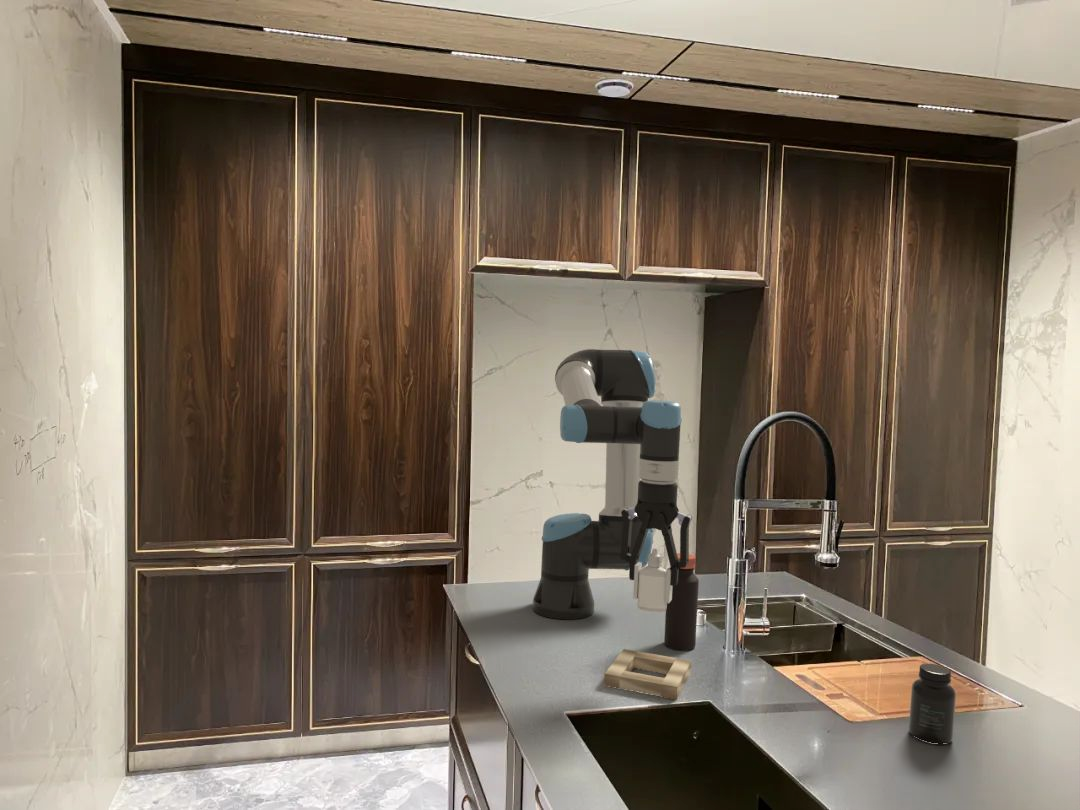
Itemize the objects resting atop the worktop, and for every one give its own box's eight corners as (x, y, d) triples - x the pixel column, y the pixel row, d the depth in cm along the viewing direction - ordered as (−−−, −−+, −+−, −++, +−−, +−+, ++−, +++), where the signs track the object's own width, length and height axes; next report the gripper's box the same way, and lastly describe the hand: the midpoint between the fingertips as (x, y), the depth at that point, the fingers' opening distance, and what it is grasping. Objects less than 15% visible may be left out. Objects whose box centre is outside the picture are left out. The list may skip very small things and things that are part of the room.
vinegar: (693, 641, 181) (698, 553, 180) (696, 652, 174) (701, 561, 173) (663, 638, 182) (667, 551, 180) (664, 650, 175) (669, 559, 174)
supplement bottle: (914, 723, 144) (919, 657, 143) (956, 736, 140) (961, 668, 139) (903, 736, 139) (908, 668, 138) (946, 750, 135) (952, 680, 134)
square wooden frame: (623, 660, 168) (623, 648, 168) (690, 672, 163) (691, 660, 163) (604, 686, 155) (604, 673, 155) (676, 700, 150) (677, 687, 150)
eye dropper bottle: (658, 615, 154) (661, 553, 154) (633, 608, 158) (636, 547, 157) (670, 609, 158) (673, 549, 157) (646, 603, 161) (648, 544, 161)
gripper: (606, 479, 156) (601, 597, 158) (703, 488, 149) (696, 611, 151) (616, 474, 163) (611, 587, 165) (709, 482, 156) (703, 600, 158)
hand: (652, 598), depth 158 cm, fingers closed on eye dropper bottle, 6 cm apart
